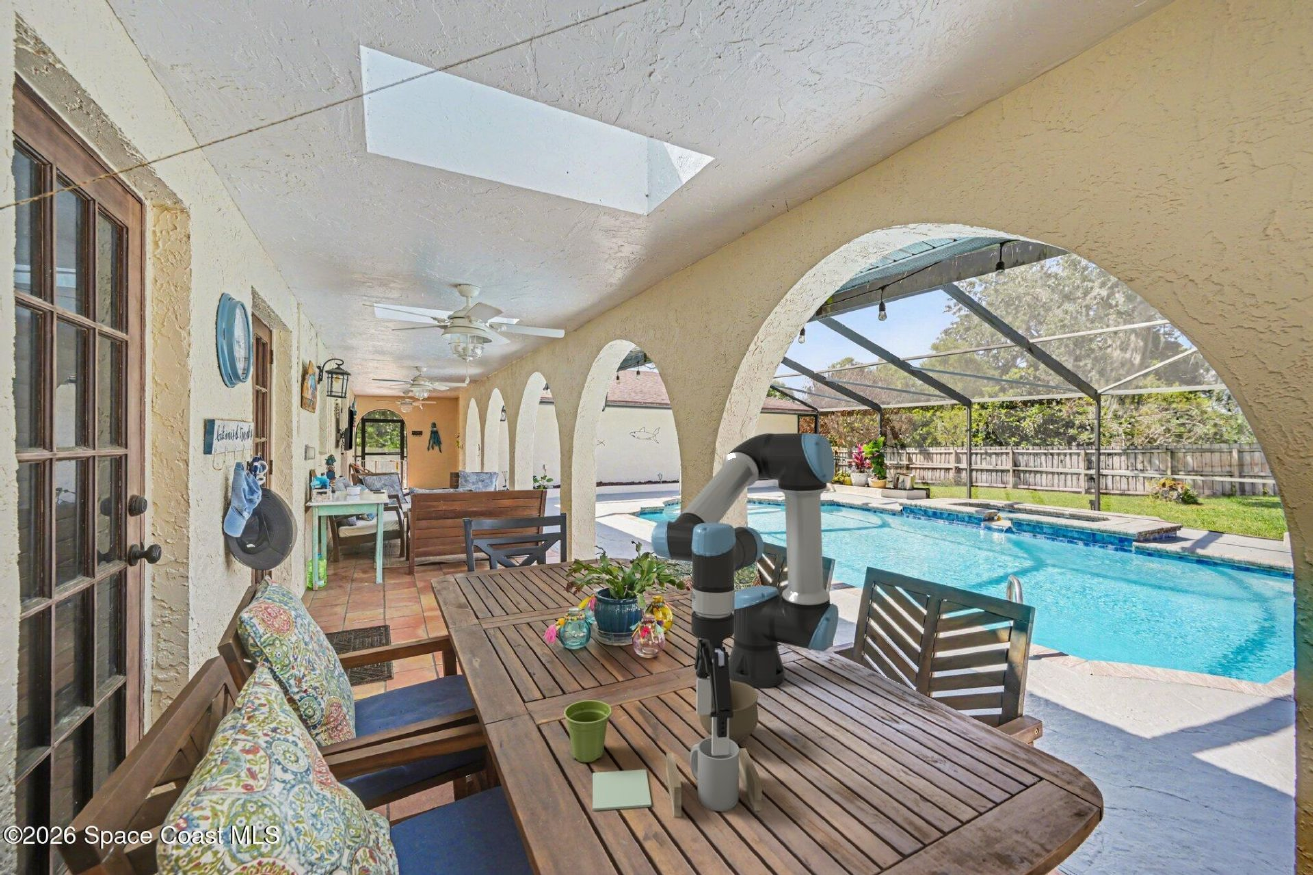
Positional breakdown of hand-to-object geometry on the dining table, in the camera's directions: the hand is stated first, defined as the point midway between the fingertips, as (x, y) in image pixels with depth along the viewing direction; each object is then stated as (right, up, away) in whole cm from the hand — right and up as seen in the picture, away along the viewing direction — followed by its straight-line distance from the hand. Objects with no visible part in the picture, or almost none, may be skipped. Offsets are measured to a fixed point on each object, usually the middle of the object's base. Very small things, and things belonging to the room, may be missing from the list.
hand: (711, 732), depth 97 cm
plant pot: (-23, -11, +13) cm, 29 cm away
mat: (-16, -11, +1) cm, 20 cm away
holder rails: (0, -11, 0) cm, 11 cm away
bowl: (+5, -11, +18) cm, 22 cm away
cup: (0, -11, 0) cm, 11 cm away
